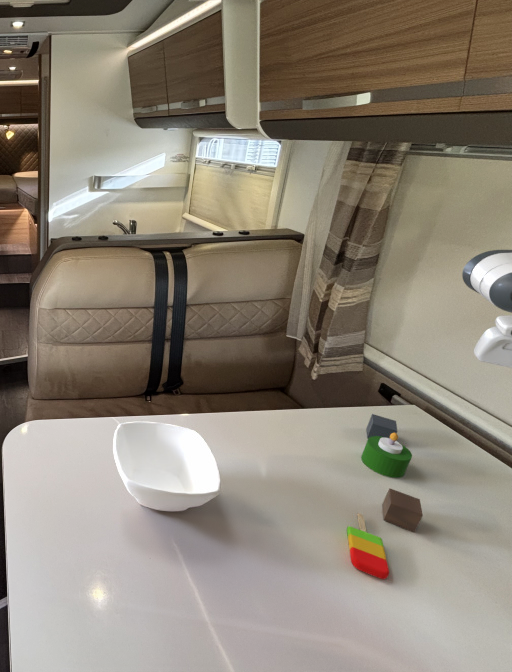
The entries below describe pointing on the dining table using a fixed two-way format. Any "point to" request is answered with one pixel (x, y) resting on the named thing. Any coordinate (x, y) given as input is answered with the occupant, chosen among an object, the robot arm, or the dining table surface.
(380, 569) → the popsicle
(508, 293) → the robot arm
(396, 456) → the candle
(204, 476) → the bowl
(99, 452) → the dining table surface
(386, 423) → the slate block
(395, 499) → the walnut block
